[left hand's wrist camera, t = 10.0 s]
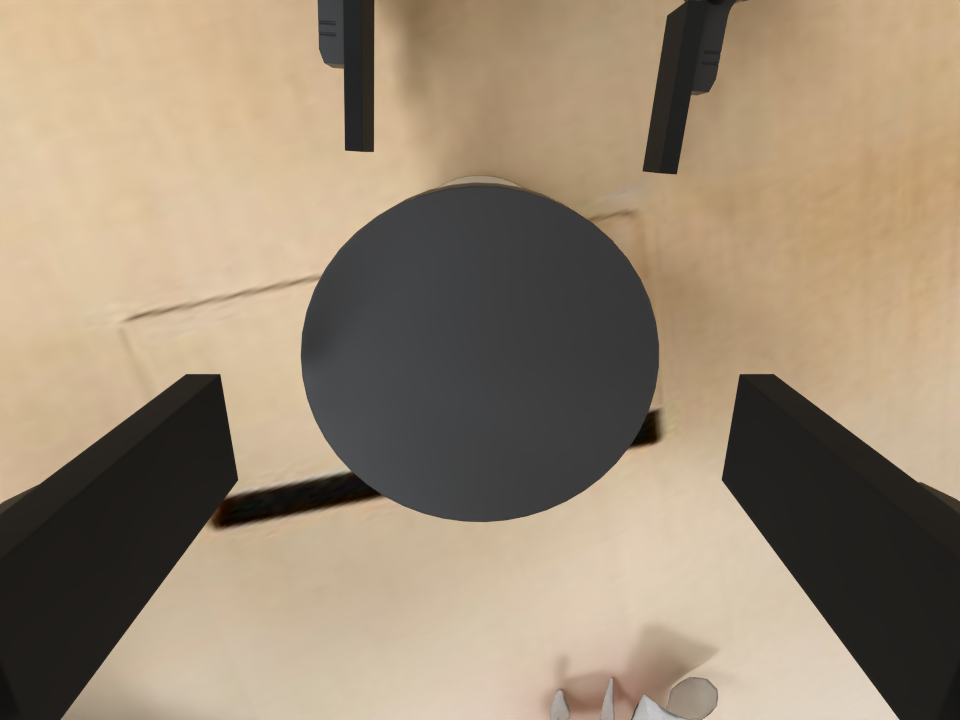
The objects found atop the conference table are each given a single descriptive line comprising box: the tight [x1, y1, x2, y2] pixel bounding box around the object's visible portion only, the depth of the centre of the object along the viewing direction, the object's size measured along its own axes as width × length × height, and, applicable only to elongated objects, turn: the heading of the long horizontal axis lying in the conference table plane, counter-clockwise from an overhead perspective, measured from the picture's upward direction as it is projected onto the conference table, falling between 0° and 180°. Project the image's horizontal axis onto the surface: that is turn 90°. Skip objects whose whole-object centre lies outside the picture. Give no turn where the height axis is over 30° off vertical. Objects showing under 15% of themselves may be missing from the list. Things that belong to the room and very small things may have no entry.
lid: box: [301, 182, 659, 522], centre depth 17 cm, size 10×10×2 cm
